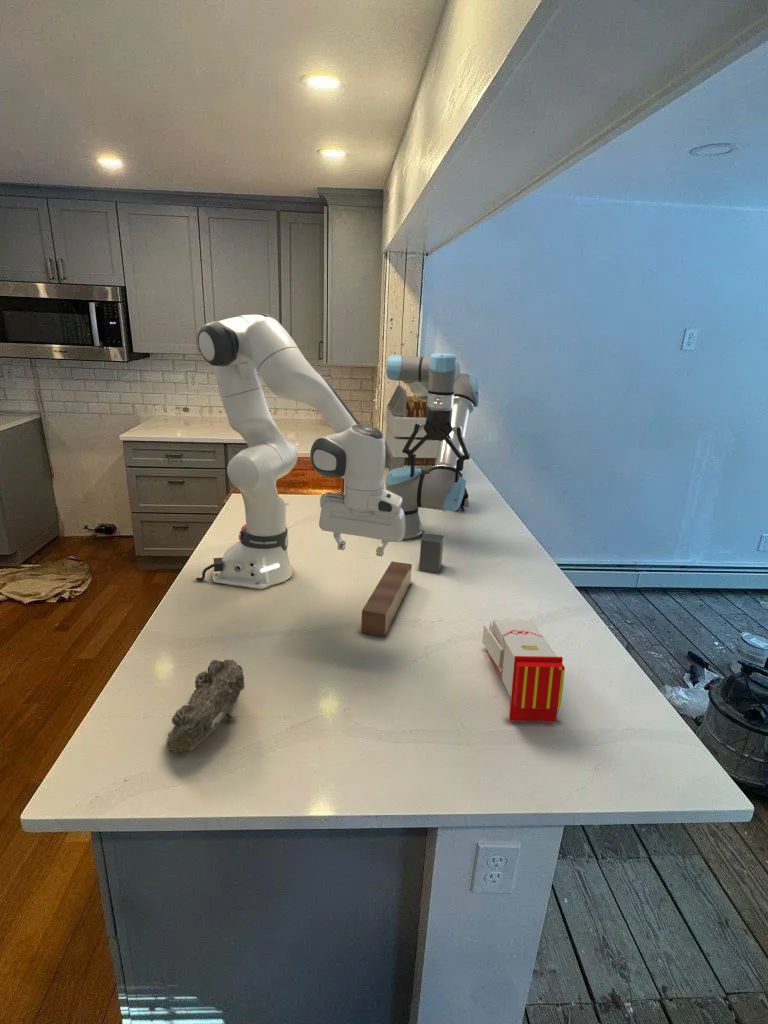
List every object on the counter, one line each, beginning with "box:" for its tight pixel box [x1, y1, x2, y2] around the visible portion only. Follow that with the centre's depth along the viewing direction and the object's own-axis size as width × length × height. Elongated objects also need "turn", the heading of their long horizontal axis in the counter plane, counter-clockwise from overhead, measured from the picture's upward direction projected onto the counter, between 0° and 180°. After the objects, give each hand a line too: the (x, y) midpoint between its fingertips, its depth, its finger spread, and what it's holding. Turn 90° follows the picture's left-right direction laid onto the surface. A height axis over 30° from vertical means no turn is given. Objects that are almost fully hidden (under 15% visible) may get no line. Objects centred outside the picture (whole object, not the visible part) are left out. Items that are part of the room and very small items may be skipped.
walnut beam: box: [360, 560, 413, 637], centre depth 151 cm, size 30×6×6 cm, turn 166°
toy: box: [481, 618, 566, 722], centre depth 122 cm, size 12×13×30 cm
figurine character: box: [455, 486, 470, 512], centre depth 229 cm, size 7×8×15 cm
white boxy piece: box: [384, 384, 439, 472], centre depth 268 cm, size 34×33×41 cm
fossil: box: [166, 658, 245, 754], centre depth 106 cm, size 22×10×15 cm
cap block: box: [418, 532, 445, 574], centre depth 173 cm, size 6×6×10 cm
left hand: (360, 552), depth 134 cm, fingers open, 8 cm apart
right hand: (434, 478), depth 172 cm, fingers open, 13 cm apart
